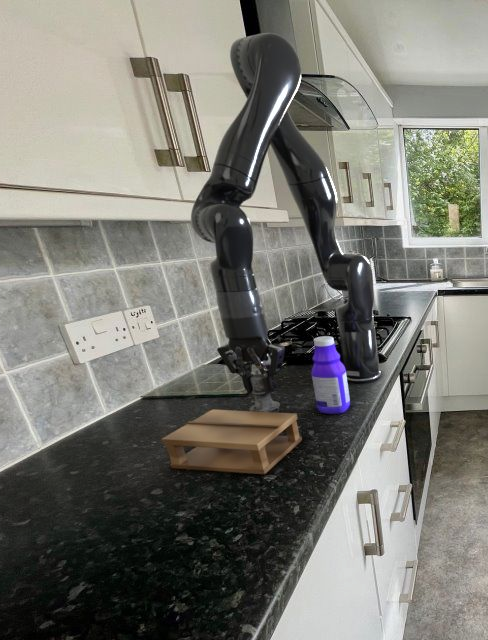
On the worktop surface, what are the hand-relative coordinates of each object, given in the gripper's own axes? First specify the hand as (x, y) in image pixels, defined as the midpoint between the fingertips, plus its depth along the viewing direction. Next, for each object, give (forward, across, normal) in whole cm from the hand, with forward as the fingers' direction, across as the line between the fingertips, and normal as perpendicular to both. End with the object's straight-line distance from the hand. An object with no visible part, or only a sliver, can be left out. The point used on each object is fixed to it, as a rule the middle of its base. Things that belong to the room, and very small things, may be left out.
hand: (261, 391), depth 87 cm
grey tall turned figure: (+7, 0, 0) cm, 7 cm away
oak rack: (+7, -3, +13) cm, 15 cm away
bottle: (+7, -12, -7) cm, 16 cm away
